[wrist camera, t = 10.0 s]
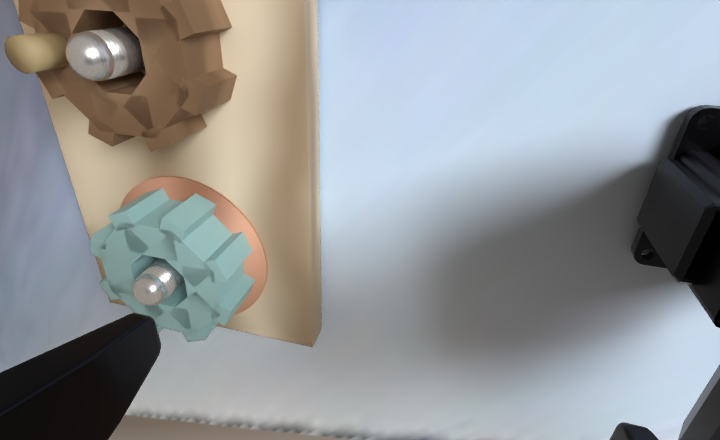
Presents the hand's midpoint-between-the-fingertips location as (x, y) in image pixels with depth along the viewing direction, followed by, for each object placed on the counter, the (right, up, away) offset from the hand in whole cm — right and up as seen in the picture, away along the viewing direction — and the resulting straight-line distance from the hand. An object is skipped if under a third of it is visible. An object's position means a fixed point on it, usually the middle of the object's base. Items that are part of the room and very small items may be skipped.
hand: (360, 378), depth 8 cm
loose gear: (-9, +1, +14) cm, 17 cm away
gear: (-8, +10, +9) cm, 16 cm away
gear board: (-8, +6, +13) cm, 17 cm away
